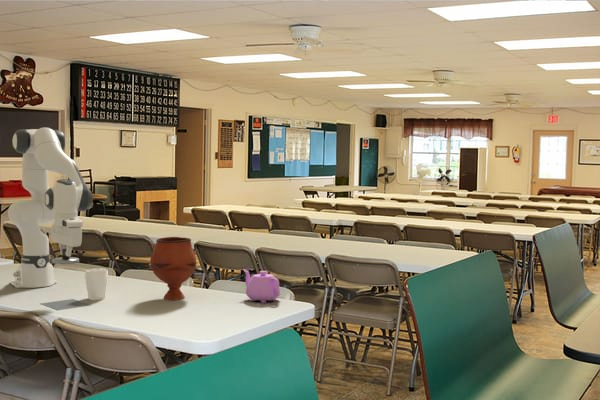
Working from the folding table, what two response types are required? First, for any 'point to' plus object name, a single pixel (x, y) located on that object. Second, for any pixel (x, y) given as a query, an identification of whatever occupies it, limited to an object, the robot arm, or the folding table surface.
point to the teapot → (262, 287)
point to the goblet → (173, 263)
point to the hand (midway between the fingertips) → (65, 255)
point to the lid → (65, 259)
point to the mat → (65, 304)
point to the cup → (96, 283)
